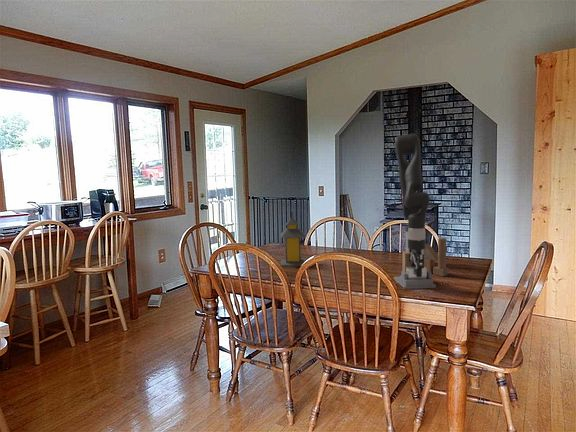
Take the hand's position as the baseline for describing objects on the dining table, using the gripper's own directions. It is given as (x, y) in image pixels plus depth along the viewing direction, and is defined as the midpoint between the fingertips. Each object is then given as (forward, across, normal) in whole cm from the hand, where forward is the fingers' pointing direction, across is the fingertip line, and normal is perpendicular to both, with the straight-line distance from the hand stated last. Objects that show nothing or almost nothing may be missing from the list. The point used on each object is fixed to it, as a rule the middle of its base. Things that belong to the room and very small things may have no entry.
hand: (416, 274), depth 196 cm
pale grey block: (+4, 0, 0) cm, 4 cm away
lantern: (+5, -51, -53) cm, 74 cm away
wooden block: (+5, -18, +15) cm, 24 cm away
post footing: (+5, -3, 0) cm, 6 cm away
